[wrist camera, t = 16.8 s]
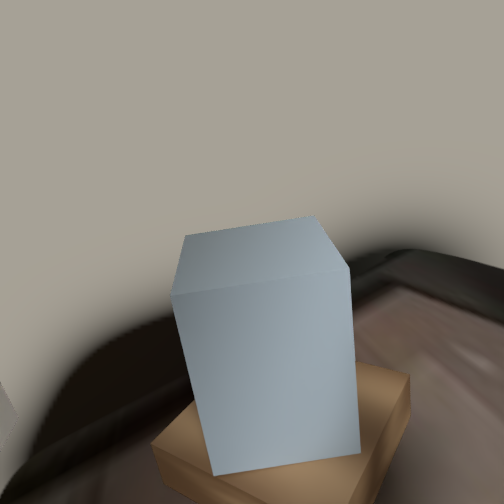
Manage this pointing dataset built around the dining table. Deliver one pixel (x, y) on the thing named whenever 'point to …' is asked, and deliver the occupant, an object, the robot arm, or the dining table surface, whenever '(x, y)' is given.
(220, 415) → the slate block
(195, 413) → the walnut block
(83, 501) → the dining table surface
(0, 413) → the robot arm
